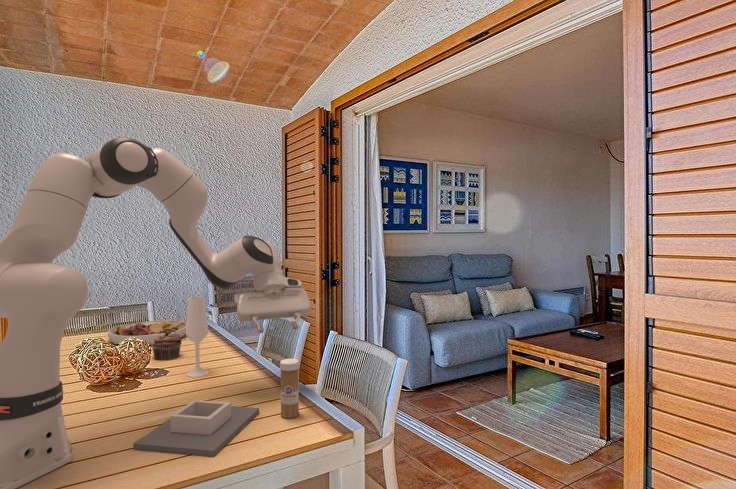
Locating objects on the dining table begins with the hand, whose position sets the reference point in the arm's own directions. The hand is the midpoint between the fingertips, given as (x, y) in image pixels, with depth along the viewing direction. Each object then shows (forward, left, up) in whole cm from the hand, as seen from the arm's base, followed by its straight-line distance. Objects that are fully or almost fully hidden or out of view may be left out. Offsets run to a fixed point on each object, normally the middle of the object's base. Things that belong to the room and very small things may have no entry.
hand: (278, 330), depth 122 cm
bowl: (+54, +78, -19) cm, 97 cm away
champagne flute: (+15, +33, -18) cm, 41 cm away
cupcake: (+30, +54, -19) cm, 65 cm away
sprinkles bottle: (-11, -7, -18) cm, 22 cm away
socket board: (-22, +10, -18) cm, 30 cm away
